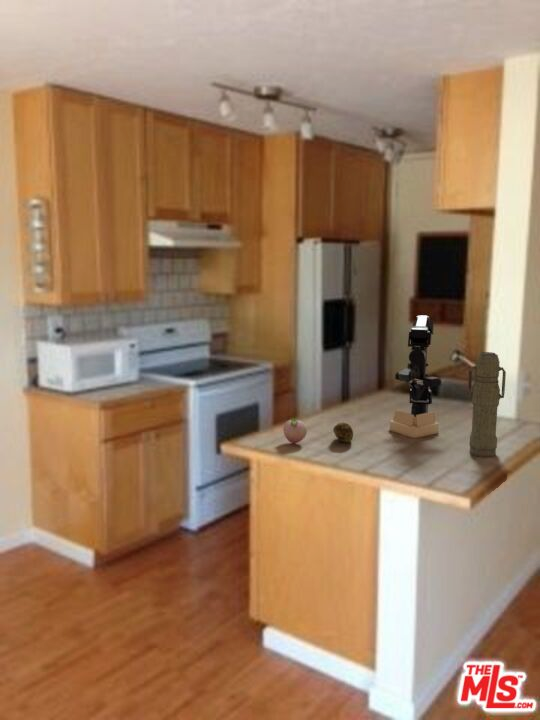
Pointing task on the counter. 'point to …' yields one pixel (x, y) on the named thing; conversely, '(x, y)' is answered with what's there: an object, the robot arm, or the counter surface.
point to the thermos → (485, 404)
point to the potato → (343, 432)
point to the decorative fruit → (294, 430)
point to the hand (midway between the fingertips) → (416, 400)
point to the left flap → (425, 418)
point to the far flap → (403, 417)
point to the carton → (414, 429)
